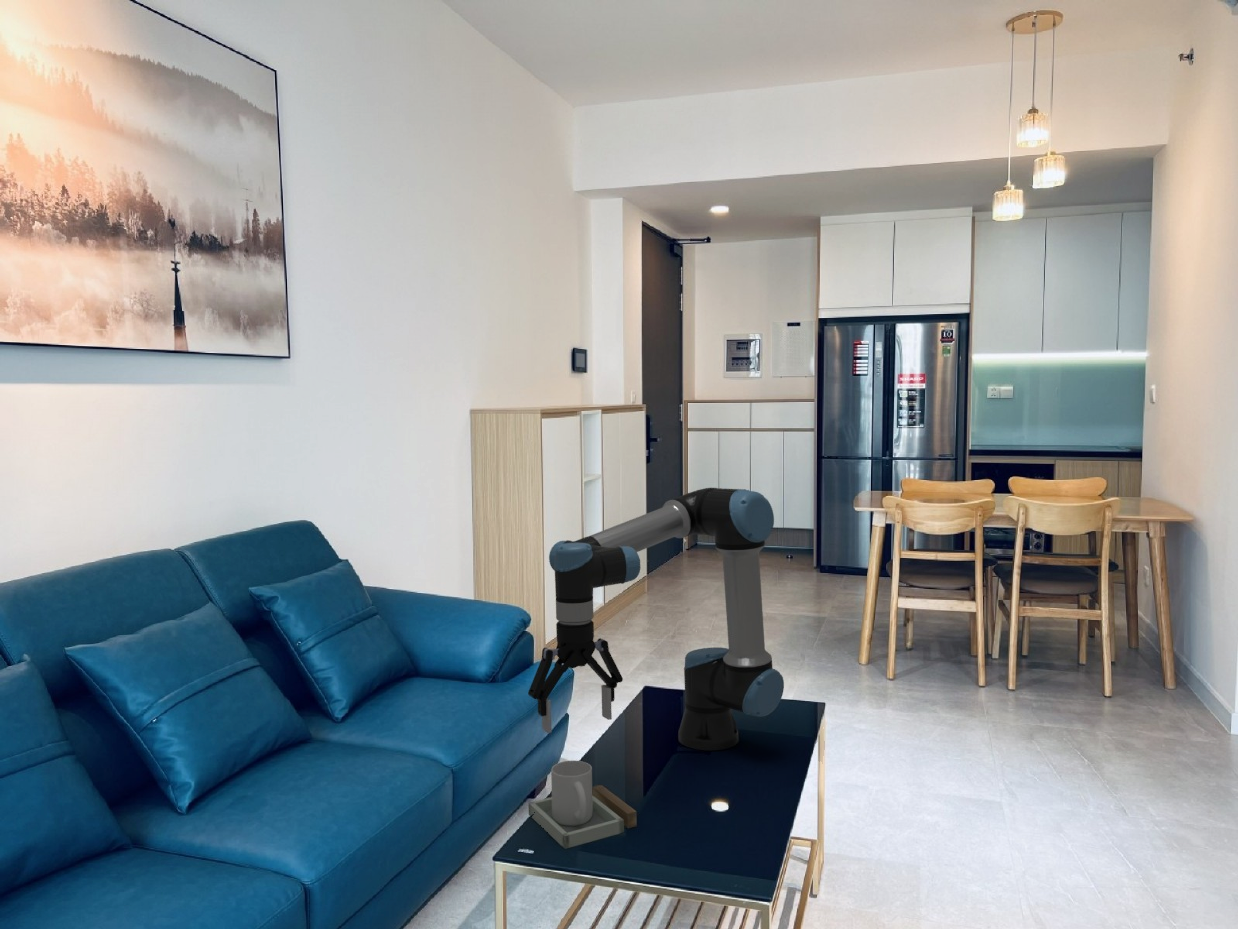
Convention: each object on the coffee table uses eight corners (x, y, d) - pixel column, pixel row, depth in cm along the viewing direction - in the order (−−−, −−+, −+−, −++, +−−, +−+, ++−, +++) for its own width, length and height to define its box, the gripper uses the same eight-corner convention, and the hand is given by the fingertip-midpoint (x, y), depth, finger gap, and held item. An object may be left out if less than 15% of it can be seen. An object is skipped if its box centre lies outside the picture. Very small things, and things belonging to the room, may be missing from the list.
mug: (603, 831, 173) (603, 780, 173) (563, 838, 170) (562, 786, 170) (585, 806, 184) (584, 758, 184) (547, 812, 182) (546, 763, 181)
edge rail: (601, 798, 189) (600, 784, 188) (636, 826, 176) (636, 811, 175) (592, 800, 188) (592, 786, 188) (628, 828, 175) (627, 813, 174)
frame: (584, 800, 188) (584, 789, 188) (624, 832, 173) (623, 820, 173) (528, 814, 181) (528, 802, 181) (564, 849, 167) (564, 836, 167)
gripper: (619, 609, 186) (621, 707, 187) (510, 625, 173) (513, 730, 175) (637, 615, 179) (639, 717, 180) (525, 633, 167) (528, 742, 168)
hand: (577, 724), depth 177 cm, fingers open, 13 cm apart
